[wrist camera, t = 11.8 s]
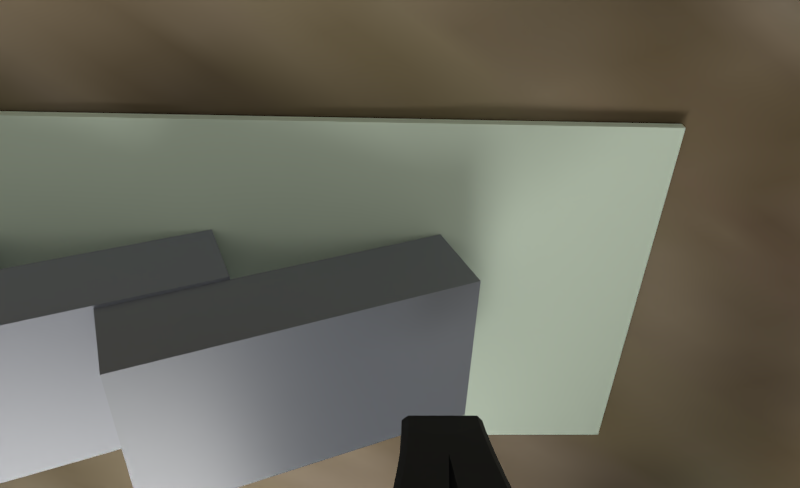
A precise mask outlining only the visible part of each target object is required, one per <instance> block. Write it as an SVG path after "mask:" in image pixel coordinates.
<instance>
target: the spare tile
mask: <svg viewBox="0 0 800 488" xmlns="http://www.w3.org/2000/svg"><path fill="white" fill-rule="evenodd" d="M225 280H230V276H229V274H228V271H227V268H226V266H225V263H224V261H223V258H222V255H221V253H220V250H219V247H218V245H217V242H216V240H215V237H214V234H213V232H212V229H211V230H206V231H200V232H195V233H190V234H184V235H179V236H174V237H168V238H163V239H158V240H152V241H147V242H142V243H136V244H131V245H126V246H120V247H115V248H110V249H104V250H99V251H94V252H88V253H83V254H78V255H72V256H67V257H62V258H56V259H51V260H46V261H40V262H35V263H30V264H24V265H19V266H14V267H8V268H3V269H0V483H3V482H7V481H10V480H14V479H17V478H21V477H24V476H28V475H31V474H35V473H38V472H42V471H45V470H49V469H52V468H56V467H59V466H63V465H66V464H70V463H73V462H77V461H81V460H84V459H88V458H91V457H95V456H98V455H102V454H105V453H109V452H112V451H116V450H119V449H122V448H121V445H120V441H119V438H118V434H117V431H116V428H115V424H114V421H113V418H112V414H111V411H110V407H109V404H108V401H107V397H106V394H105V390H104V387H103V384H102V380H101V377H100V371H99V360H98V350H97V340H96V330H95V319H94V309H95V308H99V307H104V306H109V305H113V304H118V303H122V302H127V301H132V300H136V299H141V298H146V297H150V296H155V295H160V294H164V293H169V292H174V291H178V290H183V289H188V288H192V287H197V286H202V285H206V284H211V283H216V282H220V281H225Z"/></svg>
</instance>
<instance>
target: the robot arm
mask: <svg viewBox="0 0 800 488" xmlns="http://www.w3.org/2000/svg"><path fill="white" fill-rule="evenodd" d="M393 488H511V486H510V484H509V482H508V480H507V478H506V476H505V474H504V471H503V469H502V467H501V465H500V463H499V461H498V459H497V456H496V454H495V452H494V449H493V447H492V445H491V442H490V440H489V437H488V435H487V432H486V430H485V427H484V424H483V421H482V420H481V419H480V418H479V417H478V416H407V417H405V418H404V419H402V422H401V443H400V456H399V462H398V468H397V473H396V478H395V483H394V487H393Z"/></svg>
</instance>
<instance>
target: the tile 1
mask: <svg viewBox="0 0 800 488" xmlns="http://www.w3.org/2000/svg"><path fill="white" fill-rule="evenodd" d="M480 283H481V281H480V280H479V278H478V277H477V276H476V275H475V274H474V273H473V271H472V270H471V269H470V268H469V267H468V266H467V265H466V263H465V262H464V261H463V260H462V259H461V258H460V256H459V255H458V254H457V253H456V252H455V251H454V249H453V248H452V247H451V246H450V245H449V244H448V242H447V241H446V240H445V239H444V238H443V237H442V236H441V234H439V235H434V236H430V237H425V238H420V239H416V240H411V241H406V242H402V243H397V244H392V245H388V246H383V247H379V248H374V249H369V250H365V251H360V252H355V253H351V254H346V255H341V256H337V257H332V258H327V259H323V260H318V261H313V262H309V263H304V264H299V265H295V266H290V267H285V268H281V269H276V270H271V271H267V272H262V273H257V274H253V275H248V276H244V277H239V278H234V279H230V280H225V281H220V282H216V283H211V284H206V285H202V286H197V287H192V288H188V289H183V290H178V291H174V292H169V293H164V294H160V295H155V296H150V297H146V298H141V299H136V300H132V301H127V302H122V303H118V304H113V305H109V306H104V307H99V308H95V309H94V319H95V330H96V340H97V350H98V360H99V371H100V377H101V380H102V384H103V387H104V390H105V394H106V397H107V401H108V404H109V407H110V411H111V414H112V418H113V421H114V424H115V428H116V431H117V434H118V438H119V441H120V445H121V448H122V451H123V455H124V458H125V462H126V465H127V468H128V472H129V475H130V479H131V482H132V485H133V488H238V487H241V486H244V485H247V484H250V483H253V482H256V481H259V480H263V479H266V478H269V477H272V476H275V475H278V474H281V473H284V472H288V471H291V470H294V469H297V468H300V467H303V466H306V465H309V464H313V463H316V462H319V461H322V460H325V459H328V458H331V457H334V456H337V455H341V454H344V453H347V452H350V451H353V450H356V449H359V448H362V447H366V446H369V445H372V444H375V443H378V442H381V441H384V440H387V439H391V438H394V437H397V436H400V435H401V422H402V419H404V418H405V417H407V416H462V415H465V408H466V400H467V391H468V383H469V375H470V366H471V358H472V350H473V341H474V333H475V325H476V316H477V308H478V300H479V291H480Z"/></svg>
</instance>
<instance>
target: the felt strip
mask: <svg viewBox="0 0 800 488" xmlns="http://www.w3.org/2000/svg"><path fill="white" fill-rule="evenodd" d="M684 132H685V127H684V126H683V124H665V123H611V122H558V121H504V120H450V119H397V118H343V117H289V116H235V115H182V114H128V113H74V112H21V111H0V269H3V268H8V267H14V266H19V265H24V264H30V263H35V262H40V261H46V260H51V259H56V258H62V257H67V256H72V255H78V254H83V253H88V252H94V251H99V250H104V249H110V248H115V247H120V246H126V245H131V244H136V243H142V242H147V241H152V240H158V239H163V238H168V237H174V236H179V235H184V234H190V233H195V232H200V231H206V230H211V229H212V232H213V234H214V237H215V240H216V242H217V245H218V247H219V250H220V253H221V255H222V258H223V261H224V263H225V266H226V268H227V271H228V274H229V276H230V279H234V278H239V277H244V276H248V275H253V274H257V273H262V272H267V271H271V270H276V269H281V268H285V267H290V266H295V265H299V264H304V263H309V262H313V261H318V260H323V259H327V258H332V257H337V256H341V255H346V254H351V253H355V252H360V251H365V250H369V249H374V248H379V247H383V246H388V245H392V244H397V243H402V242H406V241H411V240H416V239H420V238H425V237H430V236H434V235H439V234H441V236H442V237H443V238H444V239H445V240H446V241H447V242H448V244H449V245H450V246H451V247H452V248H453V249H454V251H455V252H456V253H457V254H458V255H459V256H460V258H461V259H462V260H463V261H464V262H465V263H466V265H467V266H468V267H469V268H470V269H471V270H472V271H473V273H474V274H475V275H476V276H477V277H478V278H479V280H480V281H481V283H480V291H479V300H478V308H477V316H476V325H475V333H474V341H473V350H472V358H471V366H470V375H469V383H468V391H467V400H466V408H465V415H462V416H478V417H479V418H480V419H481V420H482V421H483V424H484V427H485V430H486V432H487V435H598V433H599V429H600V426H601V422H602V419H603V415H604V412H605V408H606V405H607V401H608V398H609V394H610V391H611V387H612V384H613V380H614V377H615V373H616V370H617V366H618V363H619V359H620V356H621V352H622V349H623V345H624V342H625V338H626V335H627V331H628V328H629V324H630V321H631V317H632V314H633V310H634V307H635V303H636V300H637V296H638V293H639V289H640V286H641V282H642V279H643V275H644V272H645V268H646V265H647V261H648V258H649V254H650V251H651V247H652V244H653V240H654V237H655V233H656V230H657V226H658V223H659V219H660V216H661V212H662V209H663V205H664V202H665V198H666V195H667V191H668V188H669V184H670V181H671V177H672V174H673V170H674V167H675V163H676V160H677V156H678V153H679V149H680V146H681V142H682V139H683V135H684Z"/></svg>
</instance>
